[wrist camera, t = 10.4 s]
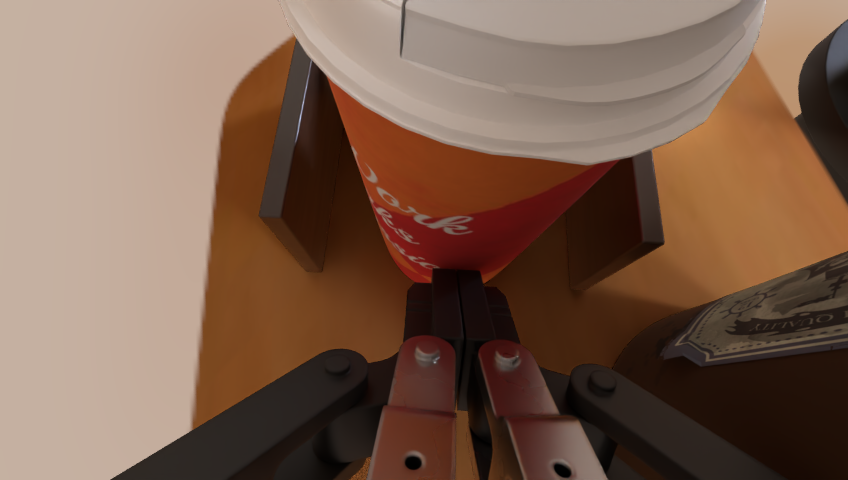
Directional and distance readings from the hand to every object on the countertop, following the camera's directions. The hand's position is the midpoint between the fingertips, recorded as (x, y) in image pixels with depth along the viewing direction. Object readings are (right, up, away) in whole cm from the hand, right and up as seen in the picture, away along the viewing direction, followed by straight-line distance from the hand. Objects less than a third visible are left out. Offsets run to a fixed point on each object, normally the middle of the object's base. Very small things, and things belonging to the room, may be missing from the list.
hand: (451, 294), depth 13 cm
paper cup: (0, +2, +5) cm, 6 cm away
